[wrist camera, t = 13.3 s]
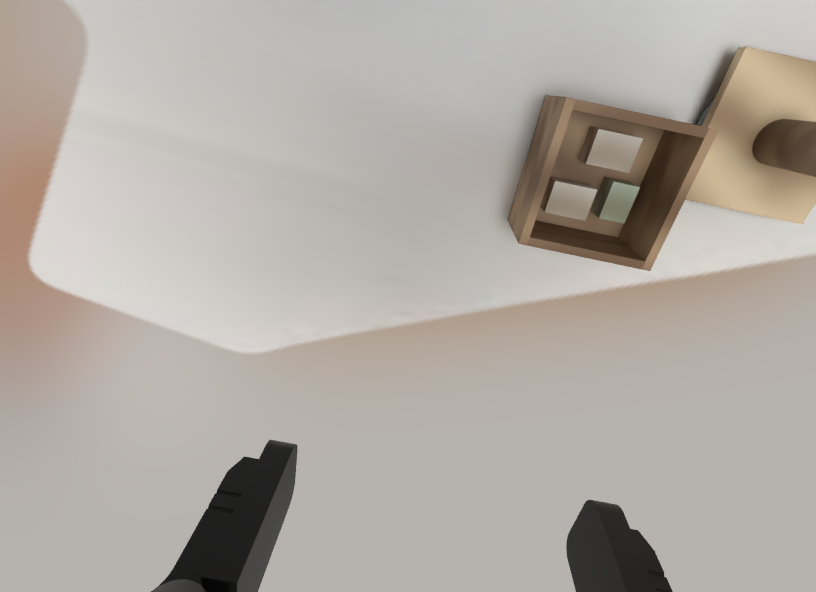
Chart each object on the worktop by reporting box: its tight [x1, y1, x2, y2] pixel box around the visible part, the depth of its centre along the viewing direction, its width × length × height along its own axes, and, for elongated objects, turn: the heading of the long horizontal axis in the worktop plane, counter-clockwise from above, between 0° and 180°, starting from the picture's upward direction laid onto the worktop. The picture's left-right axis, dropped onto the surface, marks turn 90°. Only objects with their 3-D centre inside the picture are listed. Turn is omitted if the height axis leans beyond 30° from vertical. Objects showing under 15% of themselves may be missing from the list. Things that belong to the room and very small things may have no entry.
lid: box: [685, 47, 816, 224], centre depth 28 cm, size 10×10×6 cm
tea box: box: [508, 95, 719, 271], centre depth 31 cm, size 10×10×6 cm
